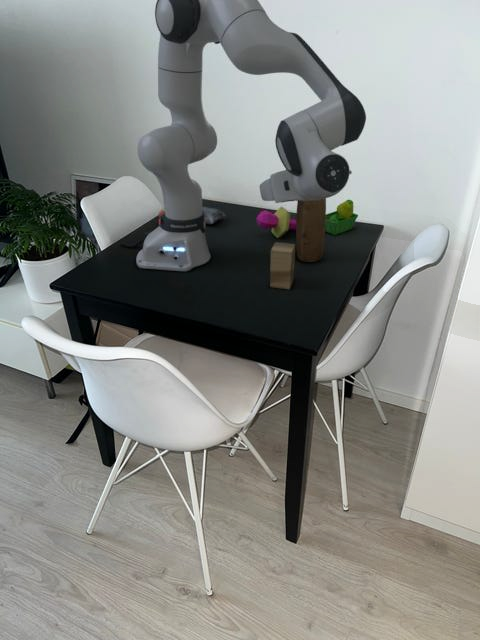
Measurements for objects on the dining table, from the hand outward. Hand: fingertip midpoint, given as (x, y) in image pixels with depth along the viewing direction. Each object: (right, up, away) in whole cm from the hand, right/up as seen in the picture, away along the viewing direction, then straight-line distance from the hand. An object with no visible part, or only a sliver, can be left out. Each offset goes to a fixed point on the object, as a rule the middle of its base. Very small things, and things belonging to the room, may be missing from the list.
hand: (295, 185), depth 127 cm
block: (+7, -14, +29) cm, 33 cm away
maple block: (-2, -23, +14) cm, 27 cm away
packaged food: (-26, +1, +54) cm, 60 cm away
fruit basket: (+20, -3, +46) cm, 50 cm away
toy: (0, -5, +43) cm, 44 cm away
